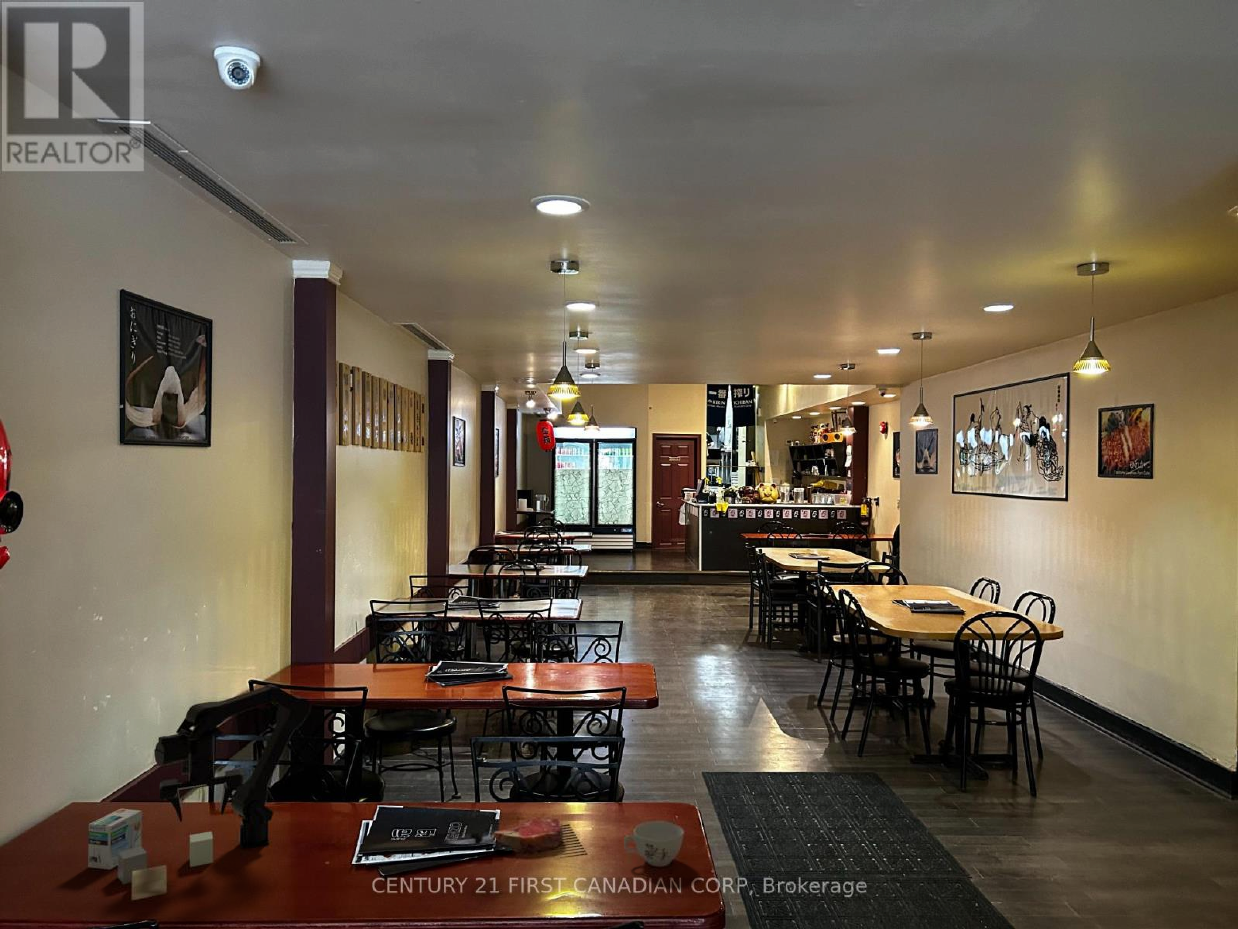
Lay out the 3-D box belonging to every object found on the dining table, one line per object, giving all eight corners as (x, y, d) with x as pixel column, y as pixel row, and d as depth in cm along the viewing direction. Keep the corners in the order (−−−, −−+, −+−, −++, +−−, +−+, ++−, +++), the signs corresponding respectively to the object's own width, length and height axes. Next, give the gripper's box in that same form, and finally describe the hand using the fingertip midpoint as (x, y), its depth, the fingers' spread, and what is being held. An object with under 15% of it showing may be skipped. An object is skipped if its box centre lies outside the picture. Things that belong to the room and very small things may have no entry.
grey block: (140, 870, 209) (141, 846, 209) (146, 877, 205) (146, 852, 205) (117, 877, 205) (118, 852, 205) (123, 884, 202) (123, 859, 202)
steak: (568, 826, 237) (568, 806, 237) (588, 858, 217) (588, 836, 217) (478, 837, 230) (478, 817, 230) (490, 871, 210) (490, 849, 210)
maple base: (166, 881, 204) (166, 865, 204) (166, 894, 197) (166, 877, 198) (132, 888, 200) (132, 871, 200) (131, 901, 194) (131, 884, 194)
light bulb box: (110, 870, 209) (110, 826, 209) (86, 868, 210) (87, 824, 210) (142, 852, 219) (143, 809, 220) (120, 849, 221) (120, 807, 221)
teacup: (679, 850, 220) (679, 819, 220) (687, 872, 208) (687, 839, 208) (622, 852, 219) (621, 821, 219) (626, 874, 207) (626, 841, 207)
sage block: (211, 855, 218) (211, 831, 218) (212, 862, 213) (212, 838, 213) (189, 859, 215) (189, 835, 215) (190, 867, 211) (190, 842, 211)
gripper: (239, 741, 226) (239, 800, 226) (159, 752, 217) (159, 813, 217) (243, 753, 216) (242, 814, 216) (159, 765, 207) (159, 829, 207)
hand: (201, 817), depth 214 cm, fingers open, 9 cm apart
